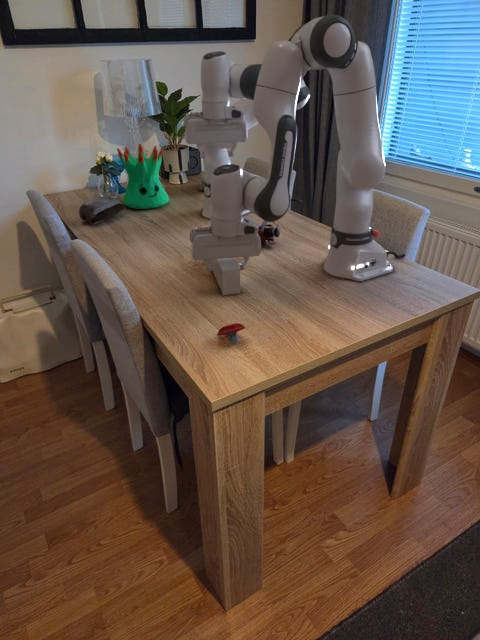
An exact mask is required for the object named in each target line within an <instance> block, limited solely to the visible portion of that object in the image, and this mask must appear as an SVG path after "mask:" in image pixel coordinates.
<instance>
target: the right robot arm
mask: <svg viewBox="0 0 480 640" xmlns="http://www.w3.org/2000/svg"><path fill="white" fill-rule="evenodd" d="M261 64H262V66H261V69H260V73H259V76H258V80H257V85H256V89H255V94H254V100H253V112H254V115H255V117H256V119H257V121H258V123H259V124H258V125H260V126H261V128H262V129H263V130H264V131H265V132H266V135H267V136H268V138H269V141H270V147H271V148H270V149H271V150H270V151H271V152H270V157H269V164H268V165H269V166H268V173H267V178H265V177H263V176H261V175H258V174H255V173H251V172H250V171H247V170H245V169H243V168H242V167H241V166H240V165H239V164H236V163H231V164H227V165H222V166H219V167H218V168H216V169H215V170H214V172H213V174H212V178H211V190H210V200H211V204H212V211H211V219H210V226H203V227H200V226H196V227H194V228H193V229H192V230H190V232H189V240H190V243H191V245H190V247H191V248H190V254H191V255H190V256H191V258H192V259H193V260H194V261H203V262H204V264H205V266H206V267H207V273H209V274H210V273H213V265H210V263H209V259H221V258H235V259H237V258H242V261H241V262H238V266H239V267H240V271H245V268H246V265H247V263H248V262H249V260H250V257H259V256H260V255H261V253H262V247H261V239H260V236H259V235H258V226H257V224H258V223H257V224H256V223H255V220H253V219H251V218H247V217H244V216H243V215H242V213H243V211H245V210H249V211H251V213H253V214H255V215H256V216H257V217H258V218H260V219H261V220H263V221H267V222H268V223H274V222H276V221H279V220H280V219H282V218H283V217H284V216H285V215H286V214H287V213H288V211H289V210H290V206H291V203H292V201H291V199H292V195H291V194H292V189H291V187H292V186H291V185H292V184H291V183H292V176H293V175H292V174H293V168H294V163H295V162H294V161H295V156H296V155H295V154H296V148H297V141H298V125H297V122H296V121H297V120H296V111H297V110H296V103H297V98H298V94H299V90H300V85H301V82H302V79H303V80H304V76H305V75H306V74H307V72H308V71H311V70H312V71H320V70H321V71H322V70H325V69H326V70H327V72H328V74H329V75H330V78H331V82H332V95H333V105H334V114H335V115H334V117H335V125H336V130H337V134H338V140H339V145H340V146H339V147H340V149H339V151H338V154H337V165H336V166H337V167H336V187H335V189H336V190H335V207H334V217H333V225H331V228H330V229H331V230H330V237H329V245H328V251H327V255H326V259H325V261H324V263H323V266H322V267H323V268H322V269H323V270H324V271H325V273H327V274H328V275H331V276H333V277H337V278H340V279H348V280H353V281H356V282H363V281H366V280H369V279H373V278H376V277H380V276H383V275H387V274H390V273H392V272H394V268H393V265H392V264H391V263H390V262H389V261H388V258H389V255H393V256H394V257H395V258H396V259H401V258H404V257H406V253H402V254H397V252H396V251H393V250H386V249H385V248H384V247H383V246H382V245H380V244H379V243H378V242H377V241H376V240H375V239H374V238H379V237H380V236H381V232H380V231H379V230H377V229H373V228H372V227H371V221H372V215H373V209H374V189H375V188H376V187H378V185H380V184H381V182H383V180H384V178H385V175H386V171H387V169H386V162H385V153H384V147H383V140H382V134H381V128H380V123H379V116H378V100H377V99H378V97H377V84H376V83H377V81H376V71H375V66H374V60H373V56H372V52H371V49H370V47H369V45H368V44H367V43H366V42H363V41H359V40H358V38H357V37H356V35H355V32H354V29H353V27H352V25H351V23H350V22H349V21H348V19H346V18H345V17H343V16H341V15H338V14H328V15H325V16H324V15H323V16H319V17H315V18H313V19H311V20H310V21H308V22H305V23H304V24H301V25H300V26H299V27H297V29H296V30H295V31H294V32H293V34H292V35H291V36H290V37H289V39H288V40H285V39H282V40H277V41H275V42H272V43H271V44H270V45H269V47H268V48H267V50H266V52H265V55H264V59H263V60H262V63H261Z"/></svg>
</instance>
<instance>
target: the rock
mask: <svg viewBox="0 0 480 640" xmlns="http://www.w3.org/2000/svg"><path fill="white" fill-rule="evenodd" d="M125 209H126V205H125V204H124V203H121V201H120V198H113V199H112V197H111V196H108V197H107V196H101V197H98V198H94V199H91V200H87V201H85V202H83V203H82V204H81V205H80V206H79V210H78V216H79V219H80V220H81V221H82V222H86V221H87V222H88V223H89V224H91V225H96V224H98V223H101V222H102V221H105V220H108V219H109V218H111V217H113V216H115V215H117V214H119V213H121V212H123V211H125Z"/></svg>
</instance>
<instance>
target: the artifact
mask: <svg viewBox="0 0 480 640" xmlns="http://www.w3.org/2000/svg"><path fill="white" fill-rule="evenodd" d="M198 190H199V191H201V192H202V191H204V177H203V178H201V179H200V184H199V187H198Z"/></svg>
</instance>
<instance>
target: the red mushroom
mask: <svg viewBox="0 0 480 640" xmlns="http://www.w3.org/2000/svg"><path fill="white" fill-rule="evenodd" d="M245 329H246V326H244V325H243V324H241V323H238V322H236V323H229V324H227V325H225V326H222V327H221V328H220V329H218V331H217V333H216V336H217V337H222V336H228V342H229V343H230V344H233V345H235V344H236V343H237V342H239V337H238V336H237V333H238V332H240V331H243V330H245Z"/></svg>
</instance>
